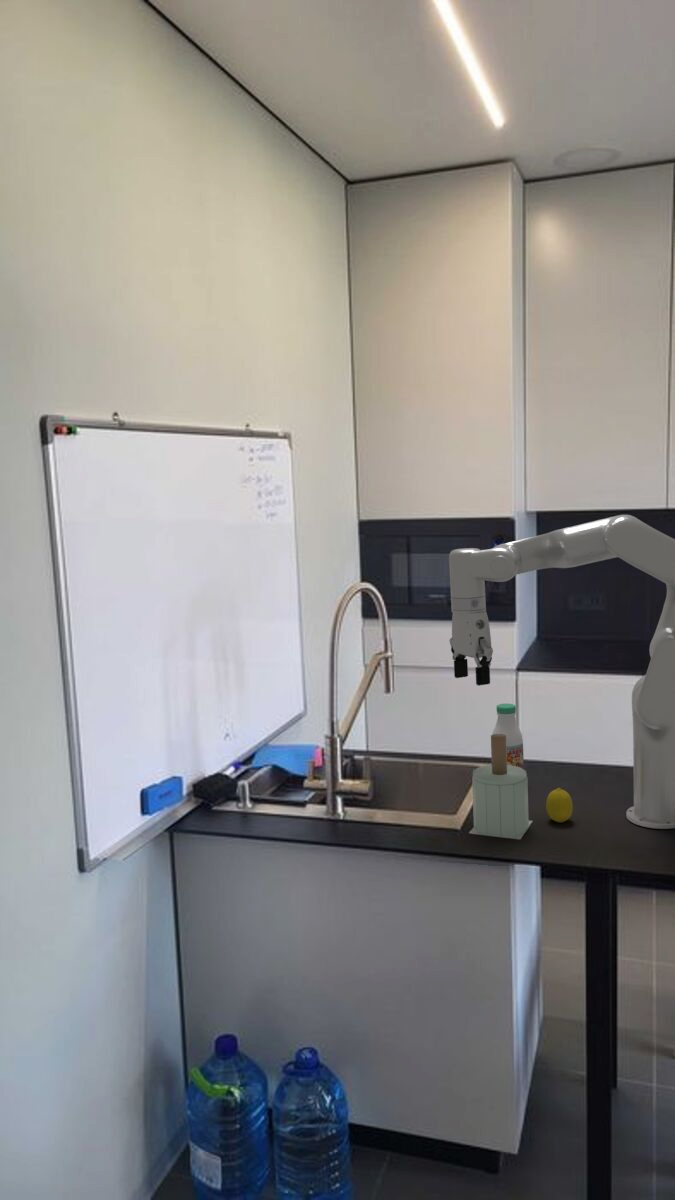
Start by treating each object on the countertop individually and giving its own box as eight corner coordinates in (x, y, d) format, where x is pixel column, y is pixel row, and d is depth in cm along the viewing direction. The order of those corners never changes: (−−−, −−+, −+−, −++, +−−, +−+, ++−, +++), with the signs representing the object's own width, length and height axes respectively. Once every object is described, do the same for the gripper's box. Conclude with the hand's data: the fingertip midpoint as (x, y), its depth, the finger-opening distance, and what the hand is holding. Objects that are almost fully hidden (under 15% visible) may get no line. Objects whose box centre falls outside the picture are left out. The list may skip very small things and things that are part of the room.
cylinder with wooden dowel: (533, 820, 197) (531, 730, 195) (520, 839, 187) (518, 745, 185) (483, 815, 202) (480, 727, 199) (468, 833, 192) (465, 741, 189)
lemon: (570, 819, 199) (570, 783, 198) (574, 828, 193) (574, 792, 192) (545, 819, 199) (544, 784, 198) (548, 828, 194) (547, 792, 193)
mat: (532, 823, 197) (532, 820, 197) (520, 842, 187) (520, 839, 187) (483, 817, 202) (483, 815, 202) (468, 835, 192) (468, 833, 192)
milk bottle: (485, 785, 223) (483, 706, 221) (505, 777, 228) (502, 700, 226) (511, 792, 218) (509, 710, 215) (530, 784, 223) (528, 704, 220)
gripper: (504, 606, 193) (507, 685, 195) (464, 599, 209) (467, 672, 211) (473, 610, 191) (476, 690, 193) (435, 602, 207) (439, 676, 209)
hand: (472, 680), depth 202 cm, fingers open, 9 cm apart
